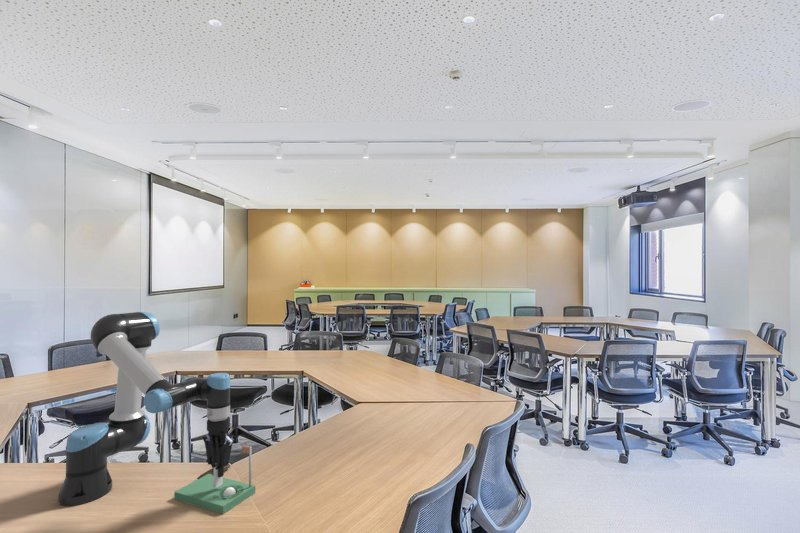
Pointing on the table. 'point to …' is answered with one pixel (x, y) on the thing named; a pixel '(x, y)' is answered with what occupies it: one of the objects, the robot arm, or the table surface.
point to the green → (216, 491)
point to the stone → (212, 471)
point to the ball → (229, 492)
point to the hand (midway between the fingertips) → (218, 485)
